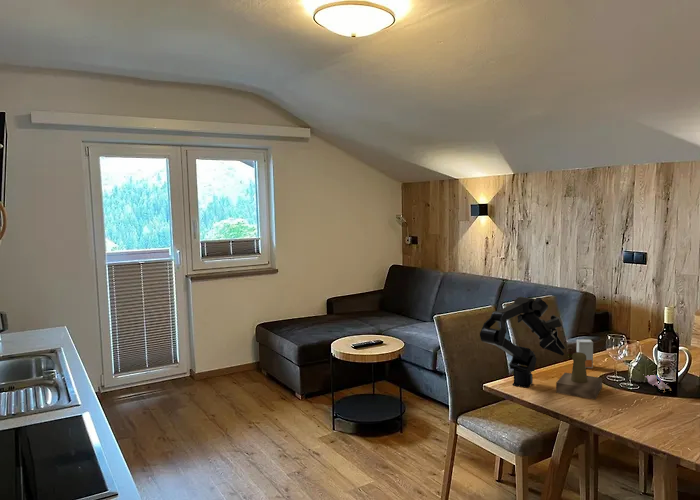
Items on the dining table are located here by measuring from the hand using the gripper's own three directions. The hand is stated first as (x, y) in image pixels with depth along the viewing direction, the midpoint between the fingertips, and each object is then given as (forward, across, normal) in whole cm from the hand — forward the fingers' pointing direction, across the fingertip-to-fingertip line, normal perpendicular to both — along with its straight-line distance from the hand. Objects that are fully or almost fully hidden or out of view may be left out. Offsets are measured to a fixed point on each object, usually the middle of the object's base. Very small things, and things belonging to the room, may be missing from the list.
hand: (564, 351), depth 209 cm
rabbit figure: (+33, +8, -14) cm, 37 cm away
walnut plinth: (+14, -6, +6) cm, 16 cm away
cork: (+11, -6, +3) cm, 13 cm away
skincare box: (+15, +26, +4) cm, 30 cm away
